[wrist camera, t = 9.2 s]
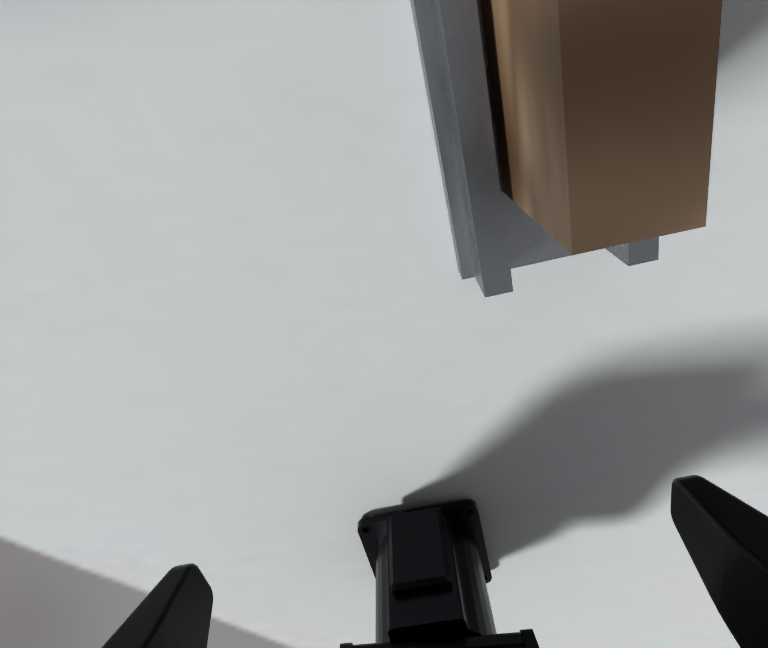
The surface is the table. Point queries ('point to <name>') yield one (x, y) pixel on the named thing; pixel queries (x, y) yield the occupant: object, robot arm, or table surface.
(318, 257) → the table surface
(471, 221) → the floor track
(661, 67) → the brown wooden block
